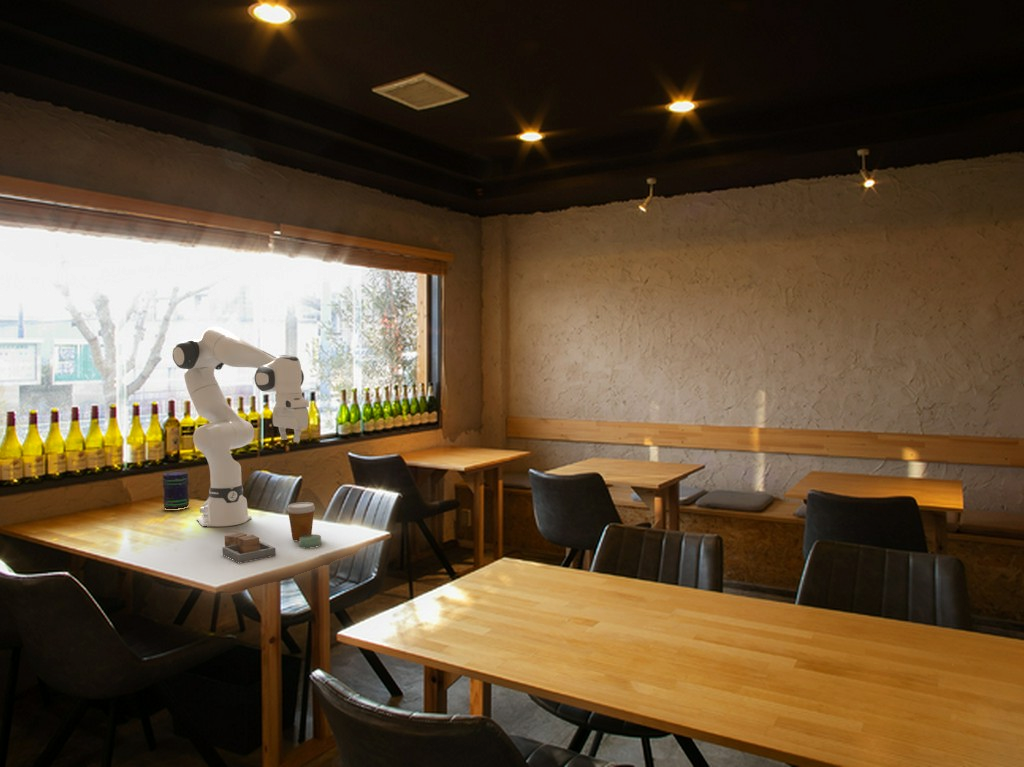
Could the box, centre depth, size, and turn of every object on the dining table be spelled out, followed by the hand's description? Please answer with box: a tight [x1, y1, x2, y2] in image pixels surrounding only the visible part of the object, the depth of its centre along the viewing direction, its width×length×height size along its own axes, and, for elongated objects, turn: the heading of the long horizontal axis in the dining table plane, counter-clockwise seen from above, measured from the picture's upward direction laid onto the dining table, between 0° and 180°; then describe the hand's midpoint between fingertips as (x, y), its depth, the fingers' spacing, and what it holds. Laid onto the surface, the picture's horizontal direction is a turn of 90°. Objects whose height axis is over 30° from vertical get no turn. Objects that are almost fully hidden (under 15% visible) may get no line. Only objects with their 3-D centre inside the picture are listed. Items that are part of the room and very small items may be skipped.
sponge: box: [298, 533, 322, 549], centre depth 250 cm, size 7×7×3 cm
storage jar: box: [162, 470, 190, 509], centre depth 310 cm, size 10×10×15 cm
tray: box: [221, 540, 277, 564], centre depth 239 cm, size 13×12×2 cm
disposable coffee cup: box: [286, 501, 316, 542], centre depth 258 cm, size 10×10×12 cm
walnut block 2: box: [238, 534, 260, 554], centre depth 238 cm, size 5×5×5 cm
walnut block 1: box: [224, 531, 248, 547], centre depth 246 cm, size 5×5×5 cm
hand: (290, 440), depth 260 cm, fingers open, 8 cm apart
